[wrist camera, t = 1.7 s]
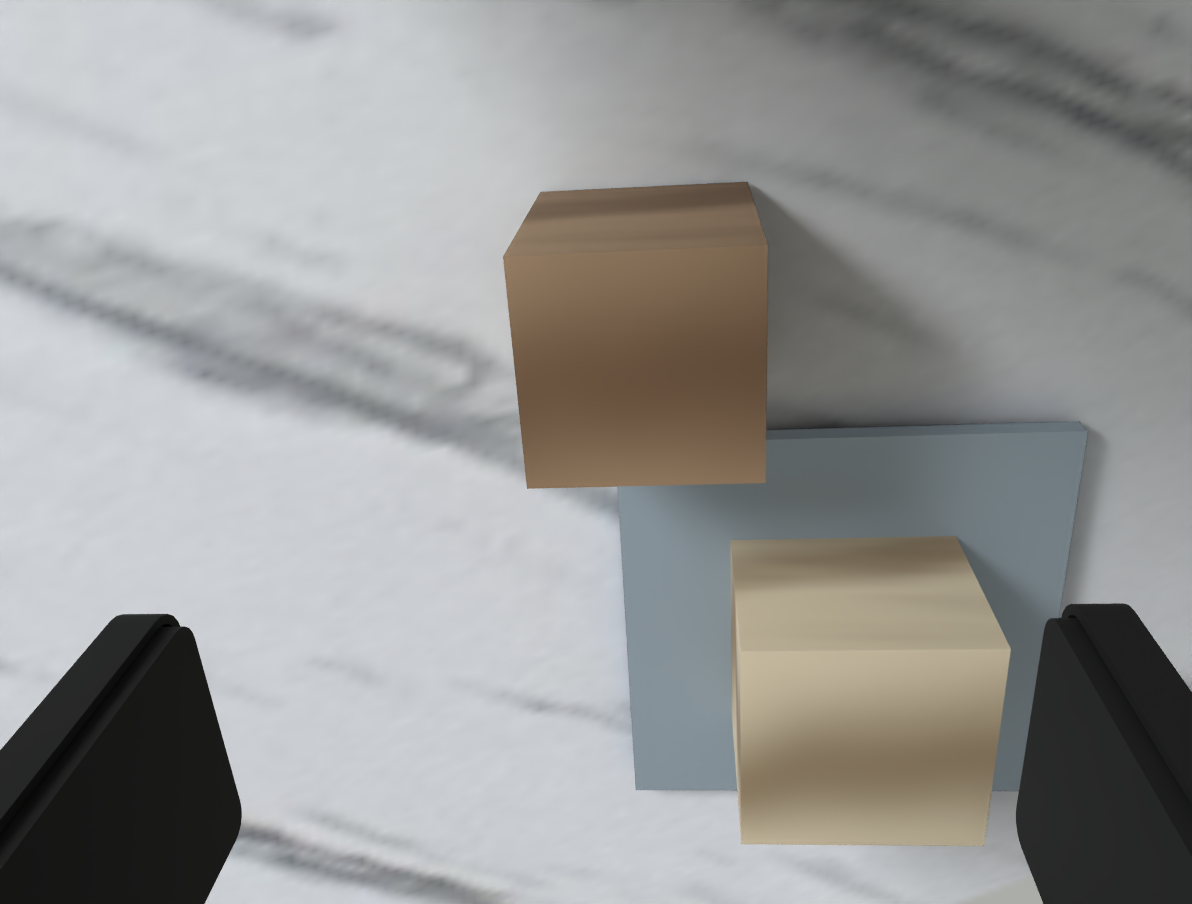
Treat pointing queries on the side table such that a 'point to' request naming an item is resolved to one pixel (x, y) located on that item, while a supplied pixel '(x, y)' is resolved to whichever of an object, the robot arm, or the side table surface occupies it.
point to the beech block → (863, 692)
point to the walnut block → (641, 336)
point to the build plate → (838, 510)
